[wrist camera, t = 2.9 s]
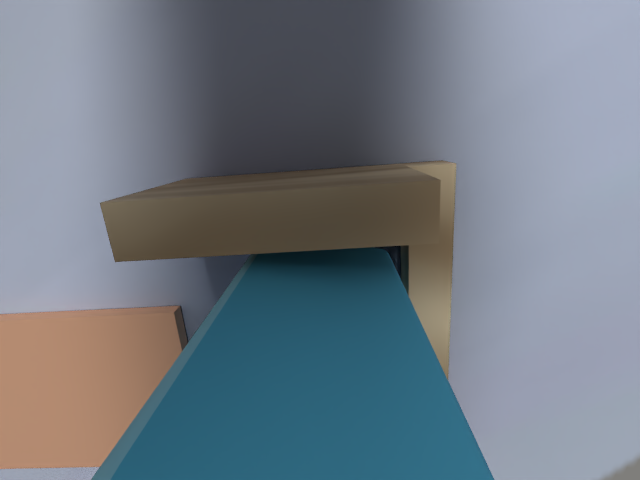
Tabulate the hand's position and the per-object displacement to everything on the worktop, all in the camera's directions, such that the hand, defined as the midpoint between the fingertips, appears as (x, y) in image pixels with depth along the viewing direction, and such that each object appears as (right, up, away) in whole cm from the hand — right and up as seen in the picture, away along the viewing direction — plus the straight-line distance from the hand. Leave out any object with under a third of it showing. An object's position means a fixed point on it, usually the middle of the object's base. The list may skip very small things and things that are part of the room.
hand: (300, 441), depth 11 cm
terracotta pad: (-12, 0, +5) cm, 13 cm away
